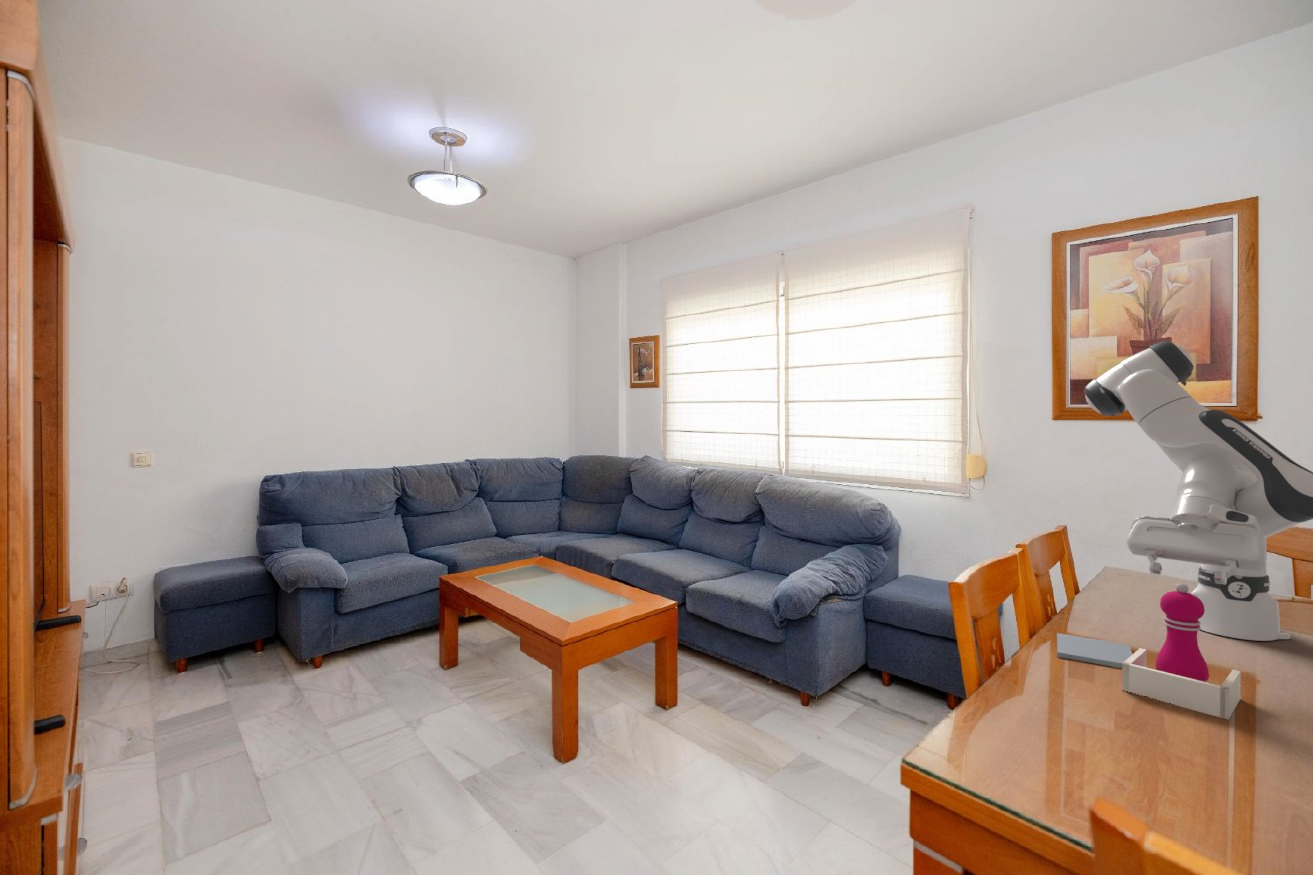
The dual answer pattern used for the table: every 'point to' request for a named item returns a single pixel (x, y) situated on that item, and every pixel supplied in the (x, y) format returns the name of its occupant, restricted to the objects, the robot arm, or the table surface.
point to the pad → (1092, 650)
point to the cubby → (1181, 687)
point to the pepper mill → (1182, 635)
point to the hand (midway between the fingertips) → (1186, 576)
